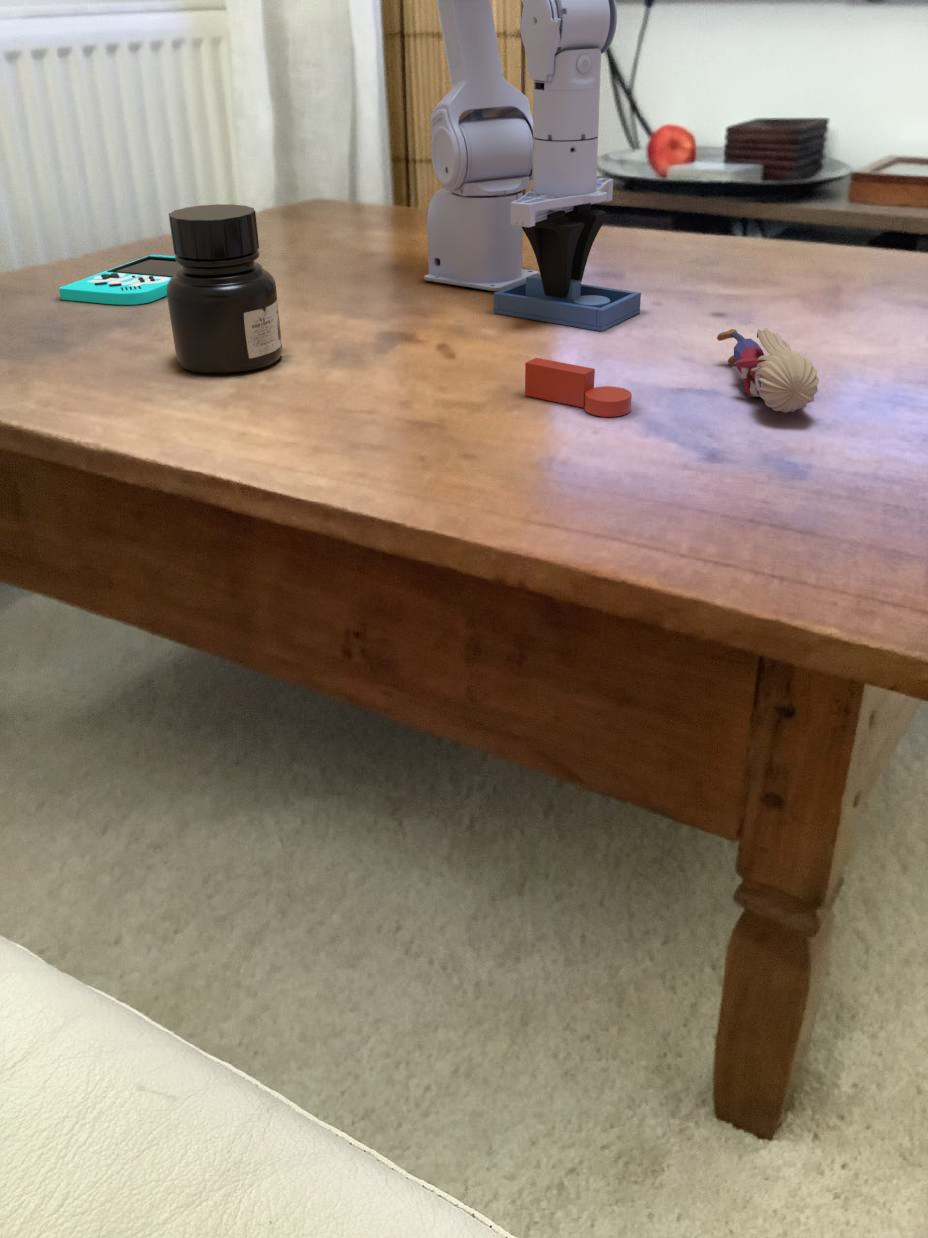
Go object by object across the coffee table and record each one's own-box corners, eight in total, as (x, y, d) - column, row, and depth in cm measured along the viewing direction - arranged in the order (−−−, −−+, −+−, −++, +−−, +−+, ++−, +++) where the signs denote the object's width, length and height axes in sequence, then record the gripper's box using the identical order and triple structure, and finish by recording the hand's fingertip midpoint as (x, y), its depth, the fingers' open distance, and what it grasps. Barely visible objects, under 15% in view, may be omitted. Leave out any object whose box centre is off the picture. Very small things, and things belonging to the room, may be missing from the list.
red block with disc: (517, 399, 86) (518, 365, 84) (541, 386, 88) (542, 354, 87) (616, 420, 81) (618, 385, 80) (639, 406, 84) (641, 372, 82)
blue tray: (493, 312, 107) (493, 292, 106) (534, 296, 112) (534, 276, 111) (601, 331, 101) (602, 310, 100) (640, 312, 106) (641, 292, 105)
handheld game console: (57, 299, 114) (54, 285, 114) (151, 264, 127) (149, 251, 126) (139, 307, 111) (137, 293, 110) (227, 270, 124) (226, 257, 123)
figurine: (699, 324, 90) (751, 370, 77) (748, 296, 90) (809, 338, 76) (728, 385, 93) (783, 441, 79) (776, 359, 92) (840, 411, 79)
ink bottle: (284, 374, 92) (269, 220, 86) (174, 381, 91) (150, 226, 85) (281, 340, 100) (267, 198, 94) (180, 347, 99) (159, 203, 93)
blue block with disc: (519, 306, 107) (520, 278, 106) (539, 298, 109) (539, 271, 108) (598, 319, 103) (599, 290, 101) (616, 310, 105) (617, 282, 104)
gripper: (561, 150, 92) (557, 317, 99) (645, 129, 102) (636, 282, 109) (489, 145, 95) (491, 306, 102) (577, 125, 105) (573, 273, 112)
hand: (561, 293), depth 106 cm, fingers closed on blue block with disc
